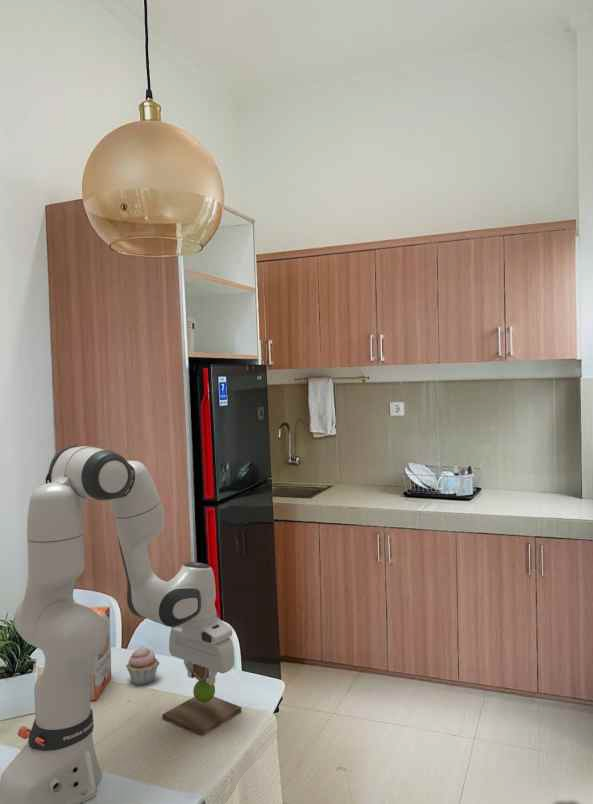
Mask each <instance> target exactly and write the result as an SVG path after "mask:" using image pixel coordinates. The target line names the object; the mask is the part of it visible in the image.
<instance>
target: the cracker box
mask: <svg viewBox="0 0 593 804" xmlns="http://www.w3.org/2000/svg"><path fill="white" fill-rule="evenodd" d="M89 608H91V609H92V610H93V611H95V612H96V613H97V614H98V615H99V616H100V617H101V618H102V619H103V620H104V621H105V623H106V625H107V628H108V637H107V641H106V644H105V646H104V648H103V650H102V651H101V653H100V654H99V655H98V656H97V657H96V658H94V661H93V664H92V668H91V673H90V701H97V700H98V698H99V696H100V695H101V693H102V692H103V691H104V689H105V687H106V686H107V685H108V683H109V682H110V681H111V679H112V650H111V648H112V647H111V615H110V614H111V611H110V606H107V605H105V606H90V607H89Z"/></svg>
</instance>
